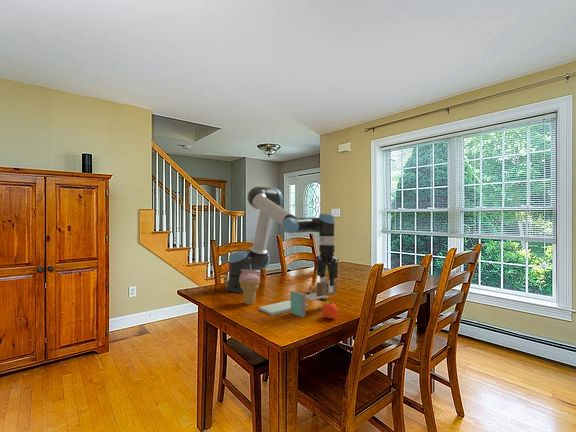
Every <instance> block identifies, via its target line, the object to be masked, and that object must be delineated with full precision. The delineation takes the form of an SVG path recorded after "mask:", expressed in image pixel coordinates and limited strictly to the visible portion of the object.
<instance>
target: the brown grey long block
mask: <svg viewBox="0 0 576 432" xmlns="http://www.w3.org/2000/svg"><path fill="white" fill-rule="evenodd" d="M337 283H338V282H337V281H335V280H334V286H333V292H330V293H328V280H326V281H325V282H321V281H319V282H317V283H316V284H317V293H313V294H305V300H309V301H312V300H313V301H314V300H318V299H319V298H322V297H325V296H328V297H329V296H331V295H336V294H338V293H337V292H338V291H337Z"/></svg>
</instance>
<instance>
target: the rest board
mask: <svg viewBox="0 0 576 432" xmlns="http://www.w3.org/2000/svg"><path fill="white" fill-rule="evenodd" d="M306 307H309V306H308V303H306V302H305V308H306ZM258 310H259V311H260V312H261V311H262V312H263V313H265V314H268V315H270V316H274V315H279V314H283V313H287V312H291V299H290V300H285V301H280V302H276V303H271V304H267V305H263V306H262V305H261V306H258Z"/></svg>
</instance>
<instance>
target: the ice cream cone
mask: <svg viewBox="0 0 576 432" xmlns="http://www.w3.org/2000/svg"><path fill="white" fill-rule="evenodd" d="M241 271H242V273H241V274H240V277H239V283H240V284H241V286H240V287H241V288H242V290H243V292H242V293H243V301H244V304H245V305H248V306H249V305H253V304H255V301H256V295H257V293H256V292H257V290H258V289H259V287H260V285H259V284H260V282H261V279H260V276H261V275H260V273H259V271H258V270H252V269H251V264H250V270H241Z"/></svg>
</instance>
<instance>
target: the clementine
mask: <svg viewBox="0 0 576 432" xmlns="http://www.w3.org/2000/svg"><path fill="white" fill-rule="evenodd" d="M321 313H322V315H323V316H324V317H325V318H326V319H329V320H330V319H334V318H335V317H336V316H337V315H338V307H337V305H336V304H335V303H333V302H330V301H326V302H324V303H323V305H322V307H321Z"/></svg>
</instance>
